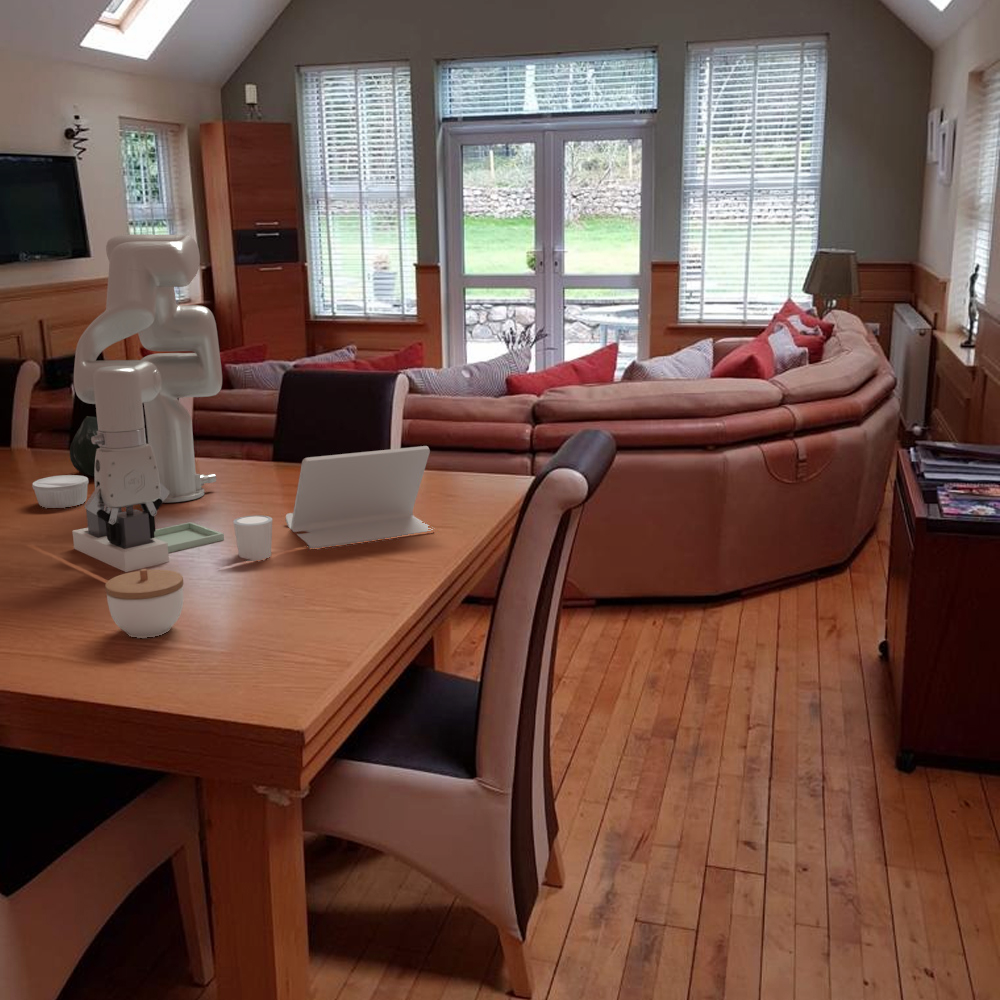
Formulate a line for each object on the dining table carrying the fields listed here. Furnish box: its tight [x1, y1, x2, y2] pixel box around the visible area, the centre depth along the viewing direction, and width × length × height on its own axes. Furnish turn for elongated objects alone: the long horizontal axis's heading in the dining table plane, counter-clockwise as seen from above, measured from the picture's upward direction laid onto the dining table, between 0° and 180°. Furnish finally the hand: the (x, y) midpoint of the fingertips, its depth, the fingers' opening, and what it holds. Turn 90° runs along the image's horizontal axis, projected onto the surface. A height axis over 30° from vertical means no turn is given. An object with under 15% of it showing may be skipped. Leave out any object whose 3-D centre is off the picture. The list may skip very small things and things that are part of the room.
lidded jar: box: [104, 568, 184, 639], centre depth 151 cm, size 11×11×9 cm
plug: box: [116, 505, 151, 549], centre depth 183 cm, size 4×4×10 cm
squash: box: [69, 415, 100, 478], centre depth 254 cm, size 14×15×15 cm
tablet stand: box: [285, 445, 433, 549], centre depth 203 cm, size 18×25×17 cm
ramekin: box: [32, 474, 89, 509], centre depth 226 cm, size 11×11×5 cm
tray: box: [154, 521, 225, 554], centre depth 196 cm, size 12×12×2 cm
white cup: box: [232, 514, 273, 562], centre depth 187 cm, size 7×7×7 cm
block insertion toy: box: [72, 503, 170, 573], centre depth 186 cm, size 8×20×11 cm, turn 46°
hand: (132, 539), depth 183 cm, fingers open, 5 cm apart
